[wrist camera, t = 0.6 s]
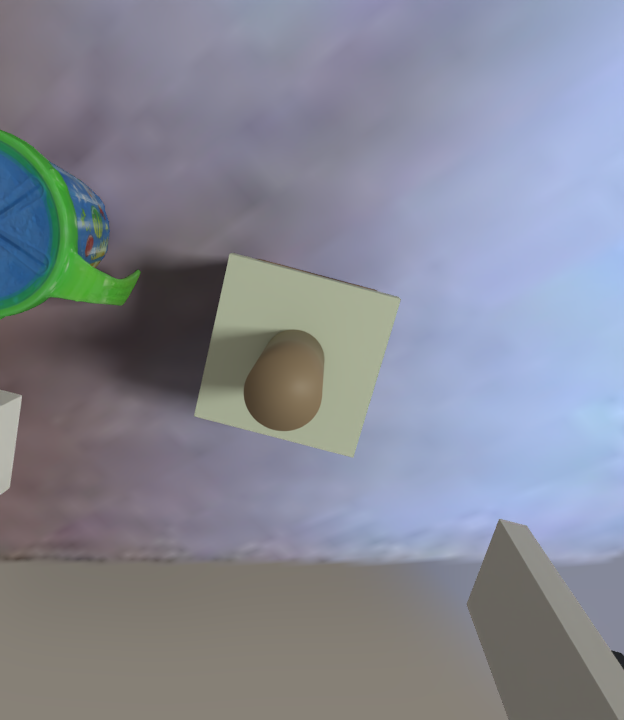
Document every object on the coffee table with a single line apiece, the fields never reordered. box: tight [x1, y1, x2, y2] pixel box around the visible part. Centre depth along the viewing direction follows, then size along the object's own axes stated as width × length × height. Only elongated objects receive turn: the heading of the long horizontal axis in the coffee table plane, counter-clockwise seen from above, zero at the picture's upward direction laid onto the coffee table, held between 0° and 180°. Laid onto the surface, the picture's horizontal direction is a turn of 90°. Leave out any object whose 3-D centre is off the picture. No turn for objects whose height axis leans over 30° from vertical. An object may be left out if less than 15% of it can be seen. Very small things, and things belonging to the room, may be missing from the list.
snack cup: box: [0, 130, 141, 319], centre depth 34 cm, size 16×10×10 cm
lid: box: [194, 253, 401, 457], centre depth 28 cm, size 10×10×8 cm
